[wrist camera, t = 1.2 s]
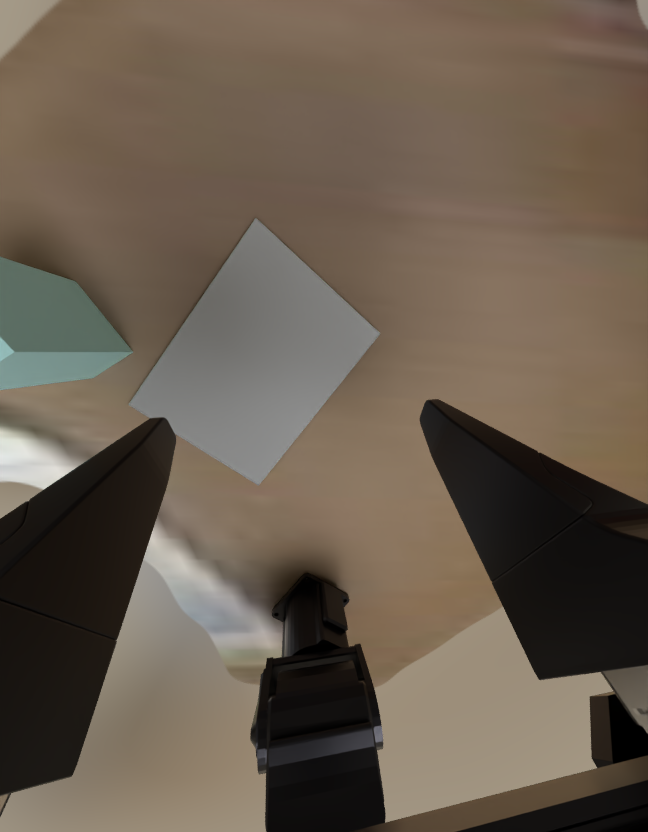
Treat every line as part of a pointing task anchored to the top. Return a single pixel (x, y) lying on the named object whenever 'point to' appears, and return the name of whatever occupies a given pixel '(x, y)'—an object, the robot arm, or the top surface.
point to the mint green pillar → (51, 330)
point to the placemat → (255, 357)
